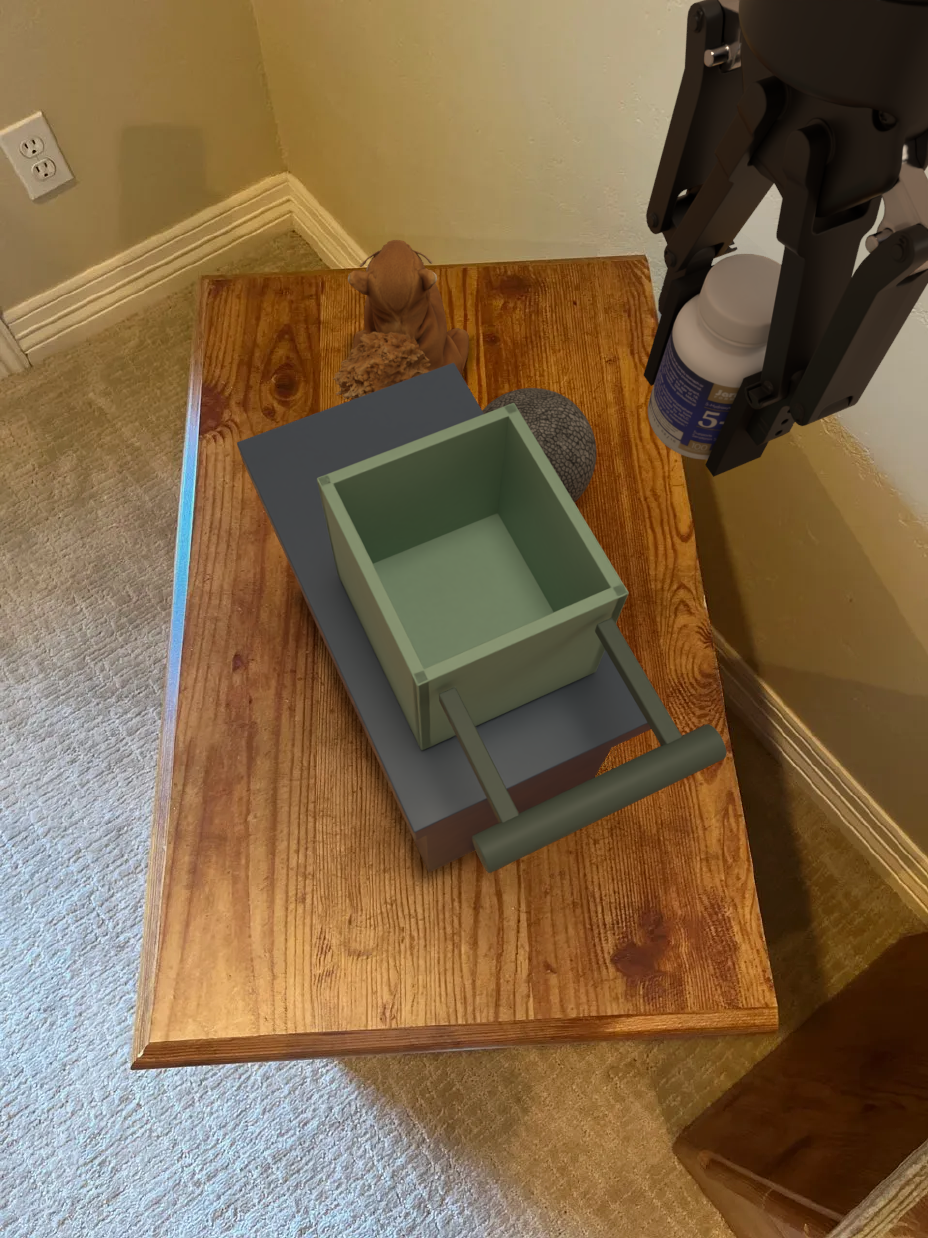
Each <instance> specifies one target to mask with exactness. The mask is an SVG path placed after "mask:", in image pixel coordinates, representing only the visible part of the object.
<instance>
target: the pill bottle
mask: <svg viewBox="0 0 928 1238" xmlns="http://www.w3.org/2000/svg"><path fill="white" fill-rule="evenodd" d="M781 264H782V263H779V262H778V261H776V260H774V259H772V258H769V257H767V256H764V255H760V254H754V253H737V254H732V255H730V256H726V257H724V258H722V259H720V260H718V261H717V262H715V264H713V265H714V266H713V267H712V268H711V269H710V271H709V272H708V274H707V276H706V279H705V281H704V284H703V287H702V289H701V292H700V294H698V295H696V296H695V297H693V298H692V299H690V300H689V301H688V302H687V303H686V304H685V305H684V306H683V308H682V309H681V310H680V312H679V314H678V316H677V318H676V320H675V322H674V325H673V328H672V331H671V334H670V337H669V340H668V343H667V346H666V349H665V353H664V356H663V359H662V362H661V365H660V367H659V370H658V374H657V377H656V380H655V383H654V385H652V389H651V392H650V395H649V399H648V402H647V403H648V404H647V417H648V421H649V425H650V427H651V429H652V431H653V432H654V435H655V436H656V437H657V438H658V440H659V441H660V442H661V443H662V444H663V445H665V447H667V448H669V449H670V450H672V451H673V452H675V453H677V454H679V455H681V456H684V457H688V458H689V459H695V460H708V458H709V455H710V453H711V451H712V449H713V446H714V444H715V442H716V440H717V437H718V435H719V433H720V431H721V428H722V426H723V424H724V422H725V419H726V417H727V415H728V413H729V410H730V408H731V406H732V404H733V401H734V399H735V397H736V395H737V392H738V390H739V388H740V386H741V383H742V381H743V379H744V378H745V377H748V376H750V375H753V374H755V373H758V372H760V371H762V368H763V363H764V357H765V352H766V346H767V341H768V335H769V330H770V324H771V319H772V313H773V308H774V303H775V297H776V292H777V286H778V281H779V275H780V270H781Z"/></svg>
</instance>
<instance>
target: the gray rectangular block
mask: <svg viewBox="0 0 928 1238" xmlns="http://www.w3.org/2000/svg"><path fill="white" fill-rule="evenodd" d="M482 410H483V409H482V408H481V406H480V404H479V403H478V401H477V399H476V398H475V396H474V394H473V393H472V391H471V389H470V387H469V386H468V384H467V381H465V379H464V377H463V374H462V375H461V374H460V372H459V370H458V369H457V367H456V365H455V364H454V363H451V364H448V365H446V366H443V367H440V368H437V369H435V370H432V371H429V372H427V373H424V374H421V375H418V376H416V377H413V378H410V379H408V380H405V381H402V382H399V383H397V384H394V385H391V386H389V387H386V388H383V389H380V390H378V391H375V392H372V393H370V394H367V395H364V396H361V397H359V398H356V399H353V400H352V399H350V400H347V401H345V402H343V403H340V404H337V405H334V406H332V407H329V408H325V409H324V410H320V411H318V412H315V413H313V414H310V415H307V416H304V417H302V418H299V419H297V420H293V421H291V422H288V423H286V424H284V425H281V426H278V427H274V428H272V429H269V430H266V431H264V432H261V433H258V434H255V435H253V436H249V437H248V438H245V439H242V440H240V441H237V442H236V446H237V448H238V452H239V455H240V457H241V460H242V463H243V465H244V468H245V469H246V470H245V471H246V472H247V474H248V476H249V479H250V480H251V483H252V485H253V488H254V489H255V492H256V494H257V496H258V498H259V500H260V502H261V505H262V507H263V509H264V512H265V514H266V517H267V518H268V520H269V523H270V525H271V527H272V529H273V532H274V533H275V536H276V538H277V540H278V543H279V544H280V548H281V549H282V551H283V553H284V556H285V558H286V561H287V563H288V565H289V566H290V569H291V571H292V573H293V575H294V577H295V580H296V582H297V584H298V586H299V589H300V590H301V594H302V596H303V599H304V601H305V604H306V606H307V608H308V610H309V613H310V615H311V617H312V619H313V622H314V624H315V625H316V628H317V630H318V632H319V634H320V637H321V639H322V641H323V643H324V645H325V648H326V650H327V653H328V654H329V657H330V659H331V661H332V663H333V665H334V668H335V670H336V672H337V674H338V676H339V678H340V681H341V683H342V685H343V687H344V689H345V692H346V694H347V696H348V698H349V700H350V703H351V705H352V707H353V709H354V712H355V714H356V716H357V718H358V720H359V723H360V725H361V727H362V729H363V731H364V733H365V736H366V738H367V741H368V743H369V744H370V748H371V749H372V751H373V754H374V756H375V758H376V760H377V762H378V765H379V767H380V769H381V771H382V773H383V776H384V779H385V780H386V782H387V784H388V786H389V789H390V791H391V794H392V796H393V798H394V800H395V802H396V804H397V806H398V809H399V811H400V813H401V815H402V817H403V820H404V821H405V825H406V826H407V829H408V831H409V833H410V835H411V838H412V840H413V842H414V844H415V846H416V849H417V850H418V853H419V855H420V858H421V859H422V861H423V864H424V866H425V868H426V870H427V873H429V874H430V873H432V872H434V871H436V870H438V869H441V868H442V867H444V866H446V865H448V864H450V863H453V862H454V861H457V860H458V859H461V858H462V857H465V856H467V855H469V854H472V853H473V852H476V850H475V848H474V845H473V842H472V836H473V835H475V834H477V833H479V832H481V831H483V830H486V829H488V828H490V827H492V826H494V825H496V824H498V823H499V822H498V820H497V818H496V816H495V814H494V812H493V810H492V808H491V806H490V804H489V802H488V800H487V798H486V795H485V793H484V791H483V789H482V787H481V785H480V783H479V781H478V779H477V777H476V775H475V773H474V771H473V769H472V767H471V765H470V763H469V761H468V759H467V757H466V755H465V753H464V751H463V749H462V747H461V745H460V743H459V741H458V739H457V737H456V735H455V736H453V737H451V738H449V739H447V740H444V741H442V742H440V743H438V744H435V745H433V746H431V747H429V748H427V749H424V750H421V749H420V747H419V745H418V743H417V741H416V739H415V737H414V734H413V732H412V730H411V728H410V726H409V724H408V722H407V720H406V718H405V715H404V713H403V711H402V709H401V707H400V705H399V703H398V701H397V699H396V696H395V694H394V692H393V690H392V688H391V686H390V684H389V682H388V680H387V677H386V675H385V673H384V671H383V669H382V667H381V665H380V663H379V661H378V658H377V656H376V654H375V652H374V650H373V648H372V646H371V644H370V642H369V639H368V637H367V635H366V633H365V631H364V629H363V627H362V625H361V623H360V620H359V618H358V616H357V614H356V612H355V610H354V608H353V606H352V604H351V601H350V599H349V597H348V595H347V593H346V591H345V589H344V587H343V585H342V582H341V580H340V578H339V576H338V574H337V570H336V565H335V561H334V556H333V552H332V547H331V542H330V538H329V533H328V529H327V524H326V519H325V515H324V510H323V506H322V501H321V496H320V492H319V487H318V483H317V478H319V477H321V476H324V475H326V474H329V473H332V472H334V471H337V470H339V469H342V468H345V467H347V466H350V465H353V464H355V463H358V462H360V461H363V460H366V459H368V458H371V457H373V456H376V455H379V454H381V453H384V452H387V451H389V450H392V449H394V448H397V447H400V446H402V445H405V444H407V443H410V442H413V441H415V440H418V439H420V438H423V437H426V436H428V435H431V434H434V433H436V432H439V431H441V430H444V429H447V428H449V427H452V426H454V425H457V424H460V423H462V422H465V421H468V420H470V419H473V418H475V417H478V416H481V415H483V414H484V413H483V411H482ZM475 727H476V729H477V731H478V733H479V735H480V737H481V739H482V741H483V743H484V745H485V747H486V749H487V751H488V753H489V755H490V757H491V759H492V761H493V763H494V765H495V767H496V769H497V771H498V773H499V775H500V777H501V779H502V781H503V783H504V785H505V787H506V789H507V791H508V793H509V795H510V797H511V798H512V800H513V802H514V804H515V806H516V808H517V810H518V812H519V813H521V812H523V811H525V810H527V809H529V808H532V807H534V806H536V805H538V804H540V803H542V802H544V801H546V800H548V799H550V798H552V797H555V796H557V795H559V794H561V793H563V792H565V791H567V790H569V789H571V788H573V787H575V786H578V785H580V784H582V783H584V782H586V781H588V780H590V779H592V778H594V777H596V776H597V775H598V772H599V771H600V769H601V767H602V765H603V763H604V762H605V760H606V758H607V757H608V755H609V753H610V752H611V751H612V748H615V747H616V746H619V745H621V744H623V743H626V742H627V741H629V740H631V739H633V738H636V737H637V736H641V735H642V734H644V733H646V732H648V731H650V730H652V729H651V728H650V726H649V724H648V723H647V721H646V719H645V717H644V716H643V714H642V712H641V710H640V709H639V707H638V705H637V704H636V702H635V700H634V698H633V697H632V695H631V693H630V691H629V690H628V688H627V686H626V684H625V683H624V681H623V679H622V678H621V676H620V674H619V672H618V671H617V669H616V667H615V665H614V664H613V662H612V660H611V659H610V657H609V655H608V653H607V652H606V650H605V651H604V653H603V656H602V658H601V661H600V663H599V665H598V668H597V670H596V672H594V673H592V674H590V675H588V676H585V677H583V678H581V679H579V680H577V681H574V682H572V683H570V684H568V685H566V686H563V687H561V688H559V689H557V690H555V691H552V692H550V693H548V694H546V695H544V696H541V697H539V698H537V699H535V700H533V701H530V702H528V703H526V704H524V705H521V706H519V707H517V708H515V709H513V710H510V711H508V712H506V713H504V714H502V715H499V716H497V717H495V718H493V719H491V720H488V721H486V722H484V723H482V724H480V725H477V726H475Z"/></svg>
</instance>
